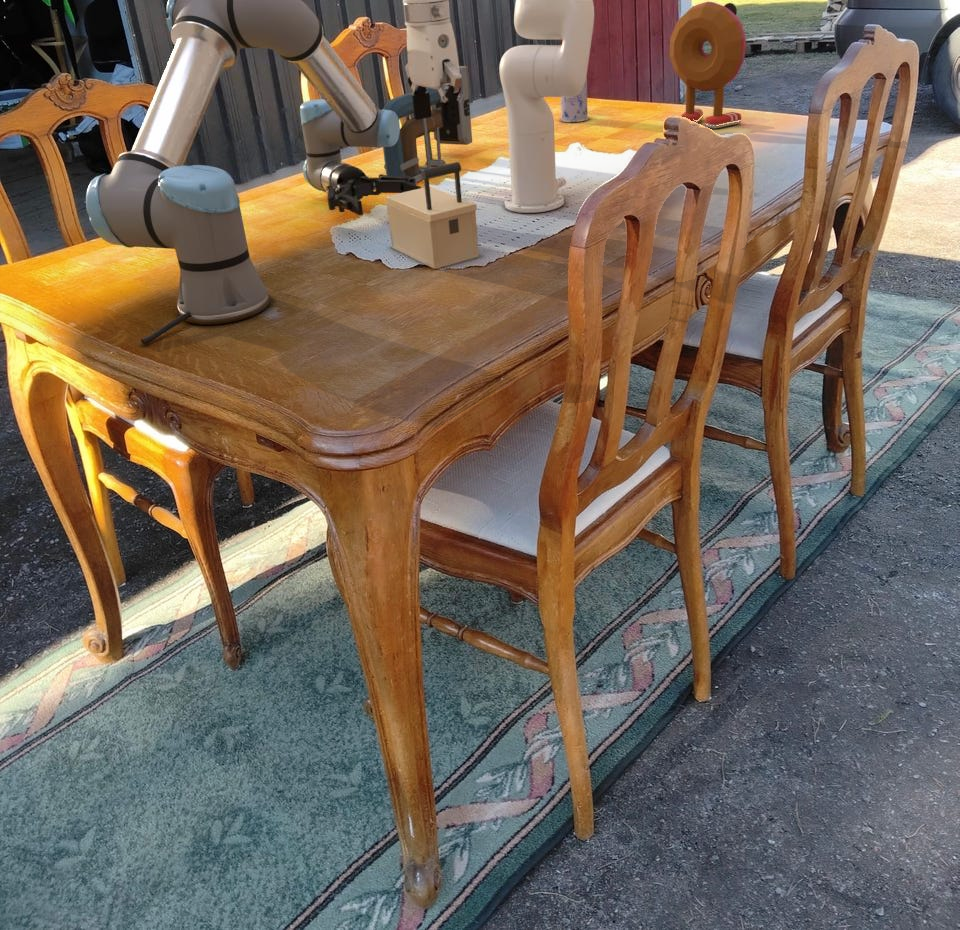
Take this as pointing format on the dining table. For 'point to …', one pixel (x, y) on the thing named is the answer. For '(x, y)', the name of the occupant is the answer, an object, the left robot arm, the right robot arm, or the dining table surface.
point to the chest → (434, 237)
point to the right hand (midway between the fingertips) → (437, 121)
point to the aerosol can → (575, 107)
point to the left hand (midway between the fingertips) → (390, 201)
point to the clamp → (425, 132)
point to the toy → (708, 56)
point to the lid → (434, 197)
